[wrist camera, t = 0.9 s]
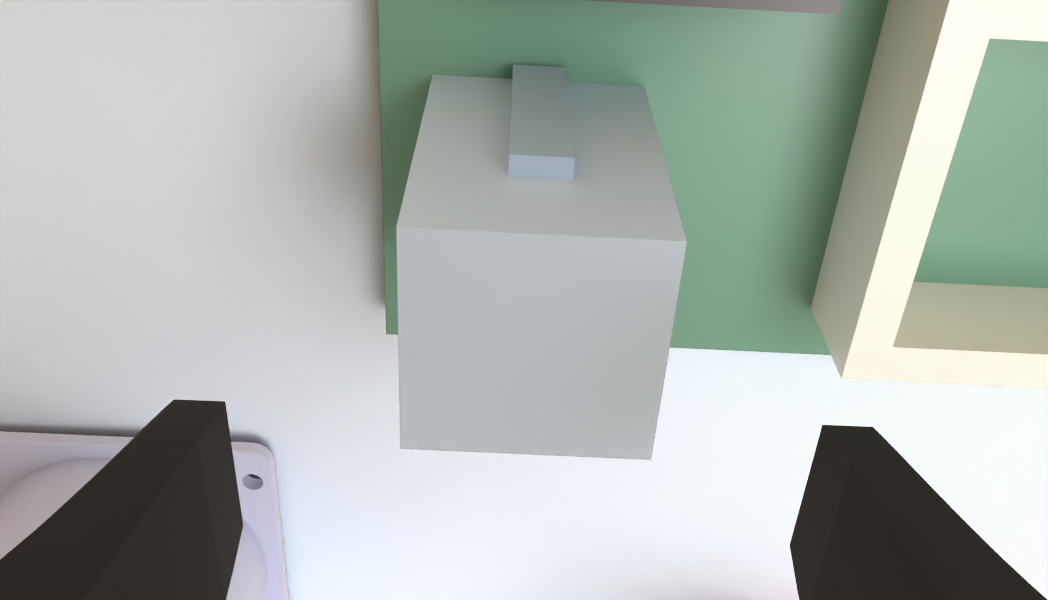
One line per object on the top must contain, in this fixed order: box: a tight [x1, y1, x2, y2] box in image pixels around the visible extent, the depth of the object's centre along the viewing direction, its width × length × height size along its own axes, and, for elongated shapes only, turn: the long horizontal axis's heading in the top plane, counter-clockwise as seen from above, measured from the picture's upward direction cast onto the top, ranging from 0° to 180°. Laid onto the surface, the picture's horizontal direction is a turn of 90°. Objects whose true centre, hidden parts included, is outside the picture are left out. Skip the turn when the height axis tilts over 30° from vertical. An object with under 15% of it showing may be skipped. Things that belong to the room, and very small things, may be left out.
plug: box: [396, 64, 687, 460], centre depth 17 cm, size 4×4×6 cm
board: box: [378, 0, 1048, 355], centre depth 19 cm, size 12×17×1 cm
